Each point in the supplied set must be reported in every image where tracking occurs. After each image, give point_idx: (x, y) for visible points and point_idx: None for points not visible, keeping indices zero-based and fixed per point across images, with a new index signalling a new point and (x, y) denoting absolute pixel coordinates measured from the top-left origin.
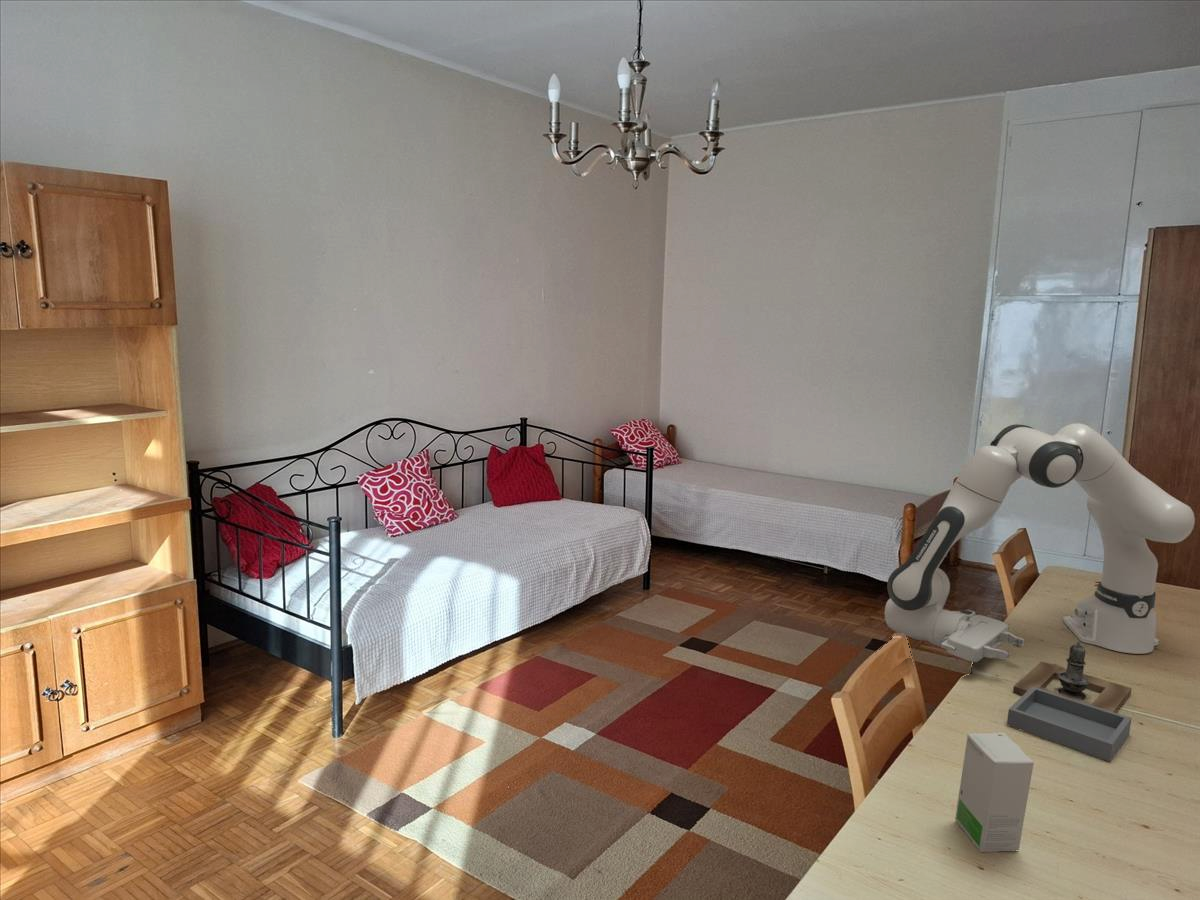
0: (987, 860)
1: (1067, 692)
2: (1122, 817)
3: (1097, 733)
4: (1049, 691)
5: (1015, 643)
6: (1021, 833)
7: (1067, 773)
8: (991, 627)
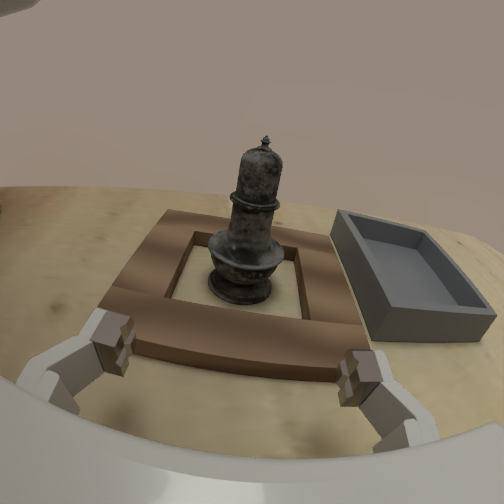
0: None
1: (255, 285)
2: (467, 251)
3: (383, 252)
4: (318, 301)
5: (124, 356)
6: None
7: (472, 277)
8: (23, 474)
